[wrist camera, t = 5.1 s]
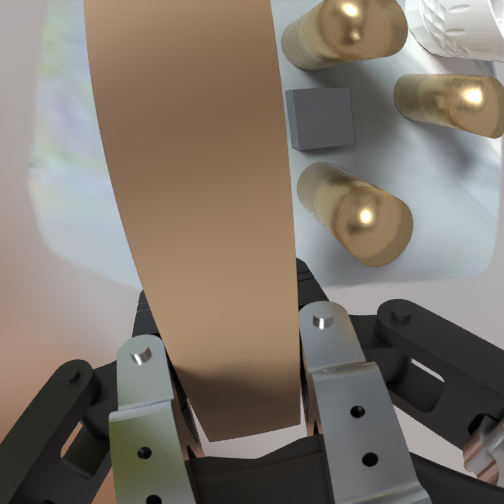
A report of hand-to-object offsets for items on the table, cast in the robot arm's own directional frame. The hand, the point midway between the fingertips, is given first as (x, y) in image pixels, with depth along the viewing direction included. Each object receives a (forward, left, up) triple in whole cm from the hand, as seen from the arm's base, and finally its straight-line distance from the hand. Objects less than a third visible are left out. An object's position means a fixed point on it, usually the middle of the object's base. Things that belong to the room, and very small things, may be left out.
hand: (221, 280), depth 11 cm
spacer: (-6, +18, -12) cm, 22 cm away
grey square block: (-4, +9, -13) cm, 16 cm away
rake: (-5, 0, -1) cm, 6 cm away
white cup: (-13, +21, -12) cm, 28 cm away
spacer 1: (-10, +9, -12) cm, 18 cm away
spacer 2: (+1, +9, -12) cm, 15 cm away
